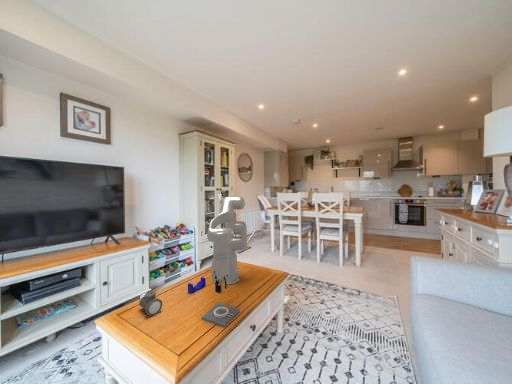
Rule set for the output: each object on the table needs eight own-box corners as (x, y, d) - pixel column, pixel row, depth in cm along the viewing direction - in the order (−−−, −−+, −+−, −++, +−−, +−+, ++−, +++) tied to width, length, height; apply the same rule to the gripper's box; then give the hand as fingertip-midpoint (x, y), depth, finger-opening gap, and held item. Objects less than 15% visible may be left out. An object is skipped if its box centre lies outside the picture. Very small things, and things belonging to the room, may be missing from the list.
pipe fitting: (163, 311, 107) (162, 292, 107) (147, 319, 101) (147, 299, 101) (152, 304, 115) (151, 286, 114) (136, 311, 108) (136, 292, 108)
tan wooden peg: (220, 289, 106) (220, 275, 106) (226, 290, 105) (226, 276, 105) (215, 292, 103) (215, 277, 103) (221, 294, 101) (221, 279, 101)
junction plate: (218, 304, 113) (218, 301, 113) (239, 311, 107) (239, 307, 107) (201, 319, 101) (201, 315, 101) (224, 327, 95) (224, 323, 95)
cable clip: (201, 285, 138) (201, 276, 138) (205, 286, 135) (205, 278, 135) (186, 292, 128) (186, 283, 128) (190, 294, 125) (190, 285, 125)
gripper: (224, 249, 113) (224, 282, 113) (204, 259, 98) (204, 296, 98) (235, 251, 110) (235, 285, 110) (216, 261, 95) (216, 300, 95)
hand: (220, 290), depth 104 cm, fingers closed on tan wooden peg, 4 cm apart
